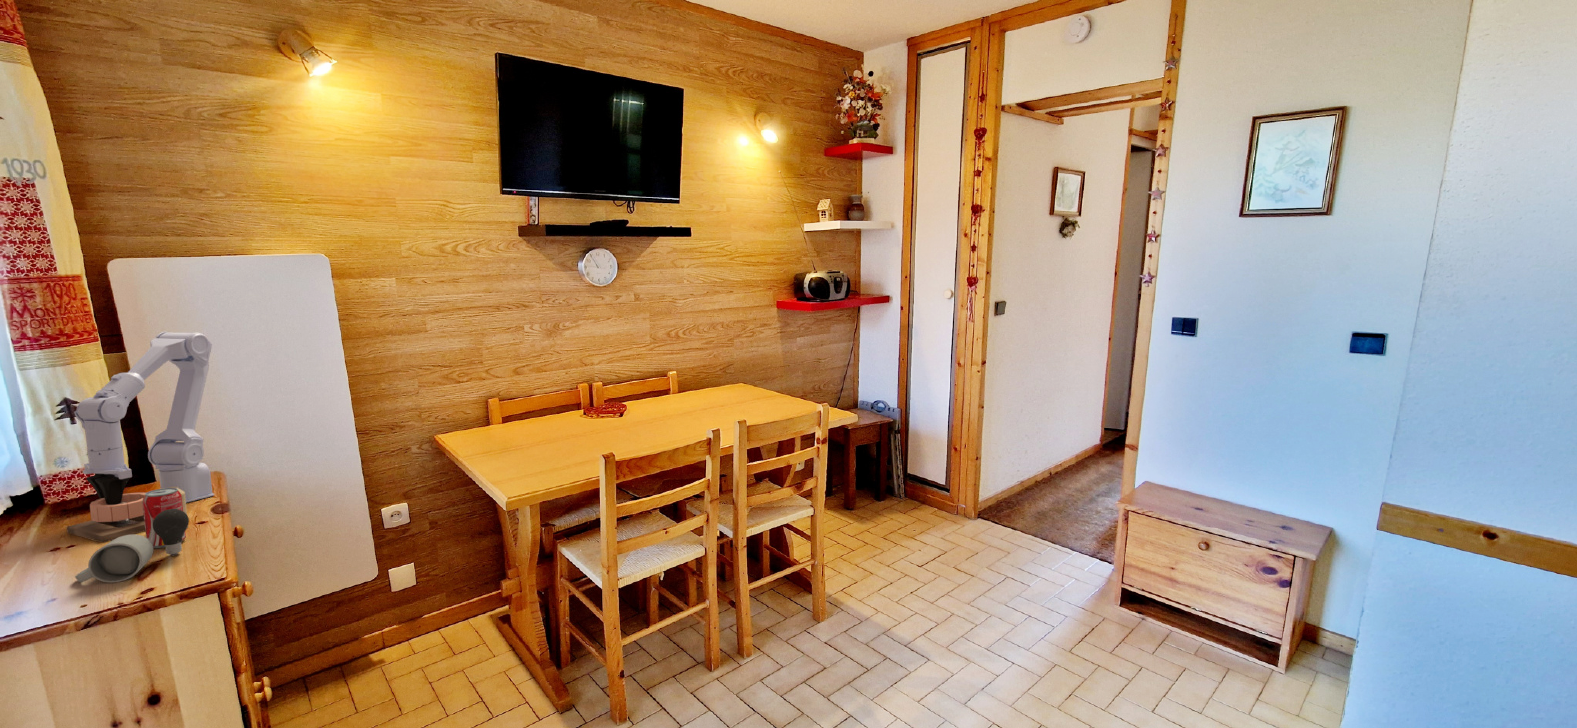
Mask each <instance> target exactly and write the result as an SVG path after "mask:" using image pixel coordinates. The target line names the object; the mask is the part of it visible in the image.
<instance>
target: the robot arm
mask: <svg viewBox="0 0 1577 728" xmlns="http://www.w3.org/2000/svg"><path fill="white" fill-rule="evenodd" d="M212 346H213V344H212V342H211V341H210V340H209V338H208V337H207V335H205V334H204V333H202V332H170V331H162V332H160V333H158V334H157V335H156V336H155V337H154V338H153V339H152V340H151V341H150V347H149V348H148V350H147V351H146V352H145V353H143V355H142V356H141V357H140V358H139V359H138V361H137V362H136V363H135V364H134V365H133V366H132V367H131V369H130V370H128V371H127V372H119V373H117V374H113V376H111V377H110V380H109V382H107V383H106V384H105V385H104V386H103V387H102V388H101V389H100V390H98V391H96V393H94V395H93V396H89V397H86V398H85V399H83V400H81V401H80V402H79V403H78V404H77V407H76V410H75V411H74V412H73V413H74V416H75V417H76V419H77V420H78V421H80V422H81V427H82V428H83V430H84V432H85V442H86V443H85V444H86V450H87V457H88V463H83V466H84V469H83V470H82V473H83V474H85V475H91V474H93V476H88V477H86V481H87V482H88V483H89V484H90V485H91V486H92V487H93V489H94V490H95V492H96V494H97V496H98V499H102V498H105V501H106V504H107V505H116V504H119V503H121V500H122V496H123V494H124V491H125V488H126V486H127V483H128V482H129V480H130V479H131V478H132V477H133V474H132V469H131V468H129V467H128V466H127V463H125V456H124V447H123V437H122V429H121V420H122V419H124V418H125V416H126V414H127V410H128V407H129V406H130V405H129V404H130V402H132V401H133V400H134V399H135V398H136V397H137V396H138V395H139V394H140V393H141V392H142V391H144V389H145V387H146V384H145V380H146V379H148V378H149V377H150V376H151V375H152V374H153V373H155V372H156V371H157V370H158V369H160V368H161V367H162V366H163V365H165V364H166V363H167V362H168V361H169V362H170V363H171V364H172V365H175V366H176V367H177V368H178V369H179V375H178V377H177V378H178V379H177V381H176V382H177V383H176V386H175V387H176V388H175V393H174V395H173V401H172V405H171V410H170V413H169V417H168V421H167V426H166V429H164V430H163V431H162V432H160V433H158V434H157V435H156V436H155V438H154V442H153V443H152V445H151V446H150V447H149V450H148V452H147V459H148V461H149V462H150V463H151V464H152V465H153V466H155V469H156V470H158V475H159V483H160V484H159V485H160V487H159V488H160V489H162V488H170V487H177V488H179V489H181V490H182V491H184V492H185V499H186V504H187V503H191V502H194V501H197V500H201V499H207V498H209V497H213V496H215V493H213V487H212V485H213V484H212V477H211V475H212V474H211V471H210V468H209V466H208V465H207V464H206V463H205V462H201V461H202V460H203V457H204V453H205V451H204V447H203V446H204V441H205V440H204V438H203V437H202V436H201V435H200V434H199V433H197V432H196V427H197V421H198V418H199V413H200V409H201V408H200V407H201V403H202V400H203V396H204V391H205V385H206V381H207V376H208V373H209V367H210V356H211V352H212V348H213V347H212Z"/></svg>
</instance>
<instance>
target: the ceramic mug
mask: <svg viewBox="0 0 1577 728" xmlns="http://www.w3.org/2000/svg"><path fill="white" fill-rule="evenodd" d="M153 553H154V548H153V545H152V543H151V541H150V540H149V539H147V538H146V536H144V535H140V534H131V535H125V536H121V537H118V538H116V539H114V540H110V541H109V543H107V544H105V545H103V546H102V547H100V548H98V549H96V551H95V552H94V553H93V554H92V555H91V556H90V559H89V561H88V563H87V564H88V565H87V566H88V567H87V568H85V569H83V570H82V571H80V572H79V573H77V574H76V575H75V576H74V578H75V579H76V581H78V583H83V582H86V581H88V580H92V578H94V579H95V580H97V581H101V582H103V583H108V584H109V583H112V584H113V583H121V582H124V581H127V580H130V579H131V578H133V577H134V576H135V575H136V574H137V573H138V572H139V571H140V570H141V569H142V568H143V567H144V566H145V565H146V564H147V563H148V562H149V561H150V560H151V559H152V557H153Z"/></svg>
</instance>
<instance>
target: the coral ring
mask: <svg viewBox="0 0 1577 728" xmlns="http://www.w3.org/2000/svg"><path fill="white" fill-rule="evenodd" d="M145 493H146V492H130V493H123V496H122V500H121V503H122V502H125V503H123V504H116V505H107V504H106V501H105V498H102V499H99V498H98V499H96V500H94V501H91V502H90V504H89V511H90V521H91V520H92V521H96V522H112V521H119V520H126V519H131V518H135V517H139V516H143V515H144V512H143V503H142V500H143V498H144V496H145Z"/></svg>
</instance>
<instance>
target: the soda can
mask: <svg viewBox="0 0 1577 728" xmlns="http://www.w3.org/2000/svg"><path fill="white" fill-rule="evenodd" d="M144 493H145V496H144V498H143V500H142V503H143V512H144V522H145V531H144V532H145V537H146V538H147V539H149V540H150V541H151V543H152V545H153V549H162V548H163V549H164V548H165V547H166V546H165V545H164V543H163V540H162V539H161V538H160V537H159V536H158V535H157V534H156V533H155V531H154V530H153V520H154V519H155V517H156V516H157V515H158V514H159V513H161V512H163V511H165V510H168V509H179V510H182V511H183V504H182V495H181V493H180V492H179V491H178V489H177V488H163V489H161V488H159V489H153V490H150V491H148V492H144ZM186 534H187V533H186V531H185V532H184V534H183V537H182V541H181V543H182V542H183V541H184V540H185V539H186V537H187V536H186Z"/></svg>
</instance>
